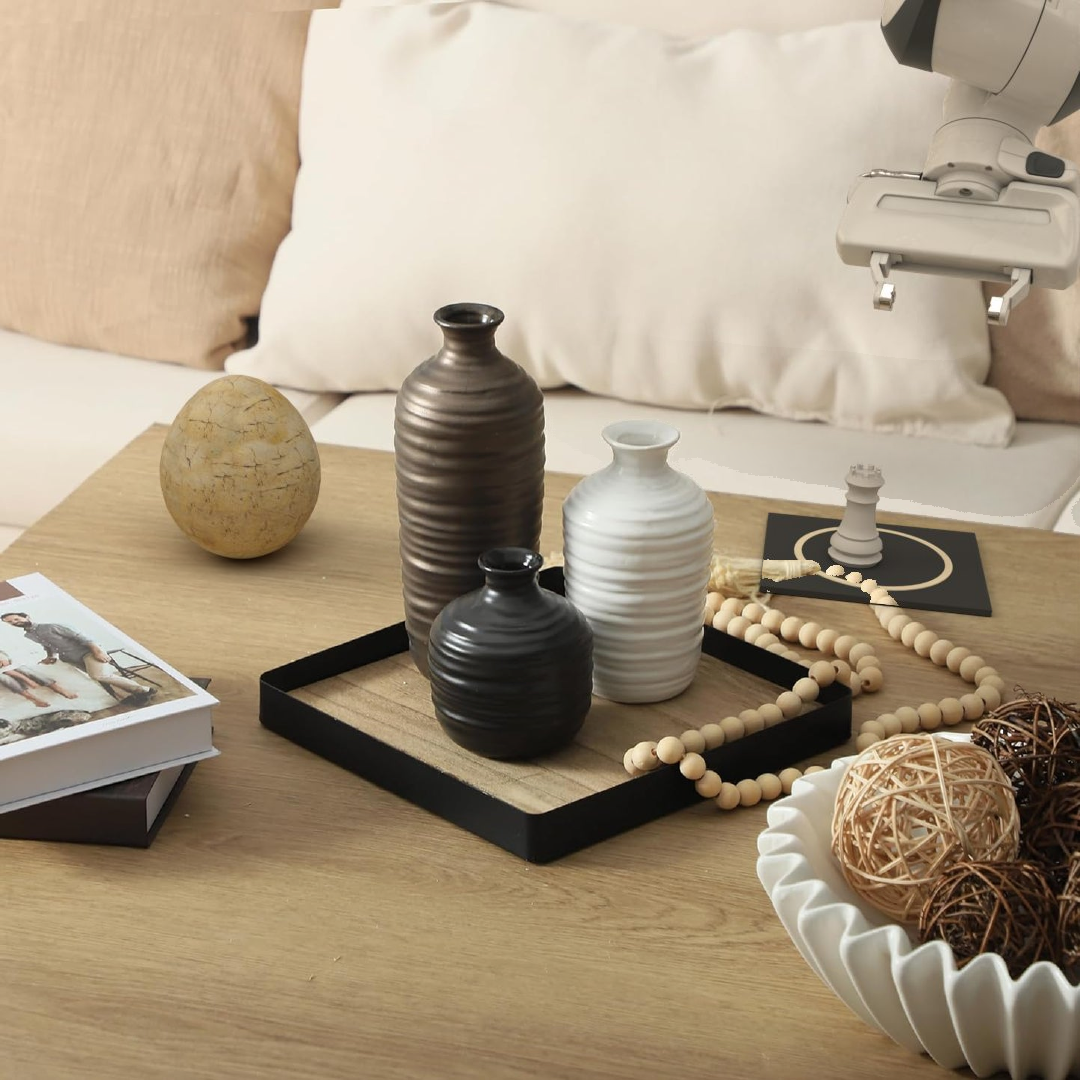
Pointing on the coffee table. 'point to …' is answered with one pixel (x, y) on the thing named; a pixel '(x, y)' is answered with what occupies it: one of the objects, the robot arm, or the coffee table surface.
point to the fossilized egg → (240, 468)
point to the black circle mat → (884, 565)
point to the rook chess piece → (859, 520)
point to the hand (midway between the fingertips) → (938, 314)
